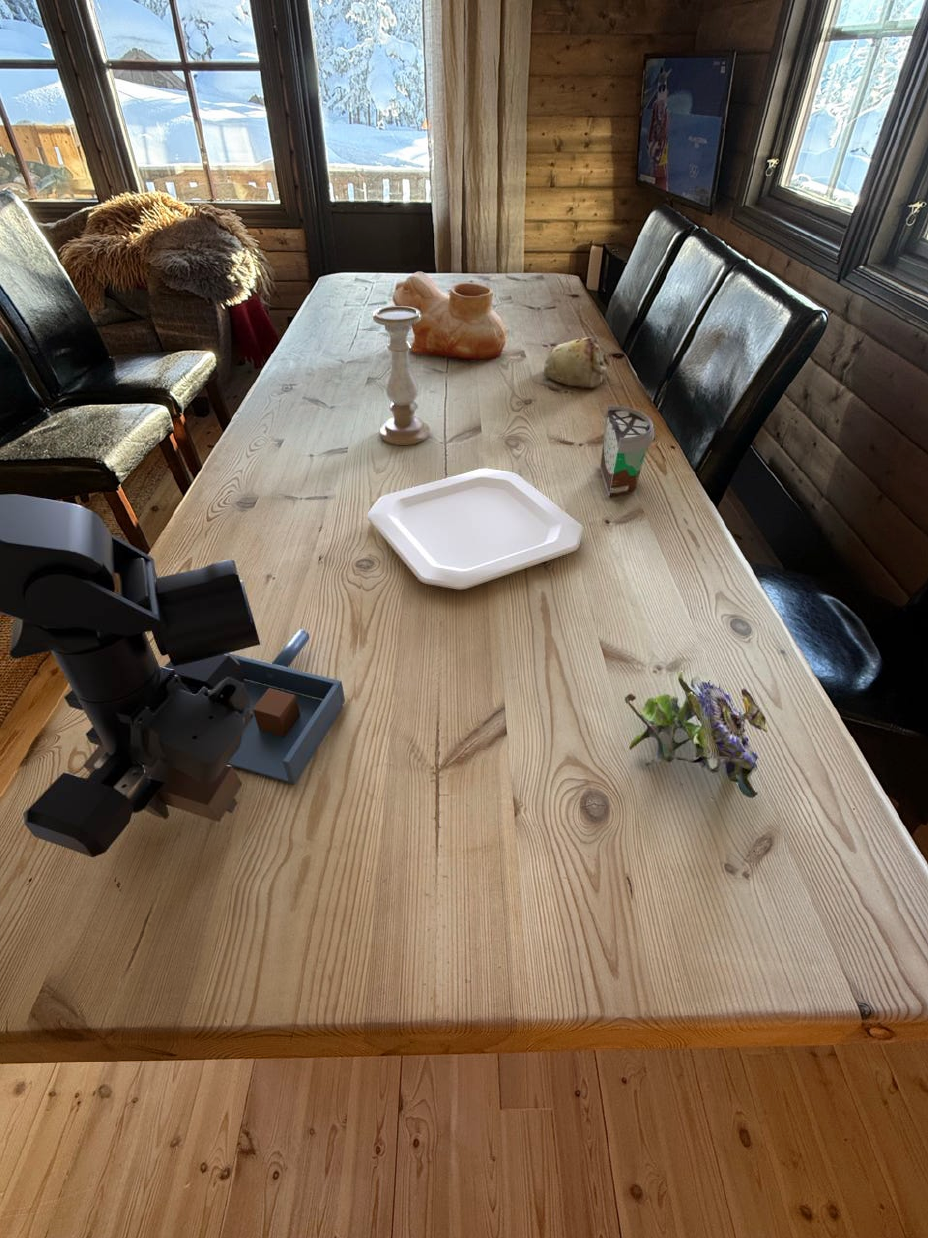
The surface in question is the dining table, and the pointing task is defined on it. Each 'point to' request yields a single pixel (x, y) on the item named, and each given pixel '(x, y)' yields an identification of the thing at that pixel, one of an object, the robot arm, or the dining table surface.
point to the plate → (473, 528)
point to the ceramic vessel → (452, 319)
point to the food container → (624, 448)
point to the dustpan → (316, 718)
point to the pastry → (576, 363)
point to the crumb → (276, 712)
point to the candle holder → (401, 378)
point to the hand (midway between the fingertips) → (176, 799)
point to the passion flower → (704, 729)
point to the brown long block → (189, 788)
